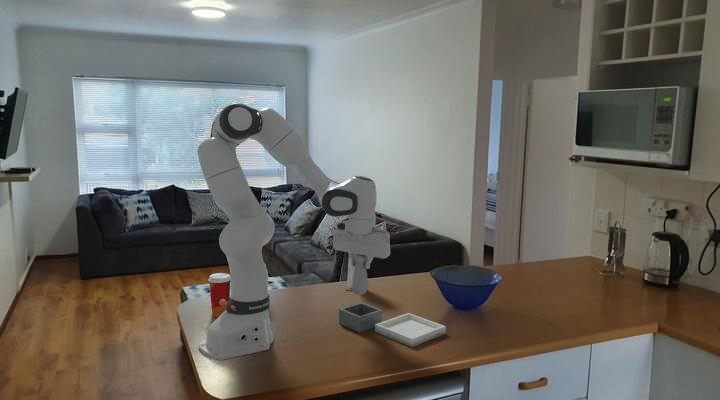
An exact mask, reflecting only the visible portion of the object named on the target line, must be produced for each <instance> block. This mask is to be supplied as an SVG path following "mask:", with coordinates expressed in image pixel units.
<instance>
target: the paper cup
mask: <svg viewBox="0 0 720 400" xmlns="http://www.w3.org/2000/svg"><path fill="white" fill-rule="evenodd" d="M207 281H208V282H209V283H208V284H209V293H210V305H211V306H210V307H211V315H212V316H213V317H214V318H216V319H217V318H218V317H219V316H220V315H221V314H222V313H223V312H224V311H225V310H226V307H223V306H221V305H220V303H219V301H220V300H221V299H224V300H226V301H227V302H228V301H229V299H230V296H231V276H230V273H224V272H218V273H217V272H216V273H212V274H211V275H209V277H208V279H207Z"/></svg>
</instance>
